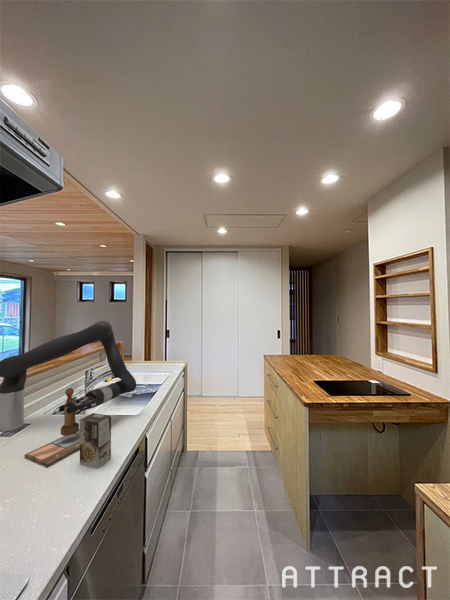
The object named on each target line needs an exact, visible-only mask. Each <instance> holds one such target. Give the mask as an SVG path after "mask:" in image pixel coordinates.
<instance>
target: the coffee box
mask: <svg viewBox="0 0 450 600" xmlns="http://www.w3.org/2000/svg"><path fill="white" fill-rule="evenodd" d="M79 429H80V450H79V464H81V465H84V466H89V467H92V468H97V469H100V468H101V467H102V466H103V465H105V464H106V463H108V462H109V461H110V460H112V415H110V414H109V415H108V414H102V413H101V414H100V413H94V412H92V413H90V414H88V415H86V416H84V417H83V418H80V419H79Z"/></svg>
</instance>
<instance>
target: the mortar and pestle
mask: <svg viewBox="0 0 450 600" xmlns="http://www.w3.org/2000/svg"><path fill="white" fill-rule="evenodd" d="M74 392H75V390H74V389H73V388H72V387H68V388H67V389H65V395H66V397H67V399H66V401H67V404H66V403H65V404H66V405H65V404H64V405H65V406H64V411H63V412H64V414H63V415H64V418H63V420H64V423H63V425H62V426H61V428H60V435H61V436H62V437H64V436H68V435H72V434H75V433H77V432H78V431H79V429H80V423H78V422H76V411H74V412H71V413H69V414H67V413H66V409H67V408H68V407H71V406H74V405H75V404H74V403H72V401H73V399H72V398H73V397H72V396H73V394H74Z"/></svg>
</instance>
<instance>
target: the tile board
mask: <svg viewBox="0 0 450 600" xmlns="http://www.w3.org/2000/svg"><path fill="white" fill-rule="evenodd" d="M77 452H80V428H79V431H78V432H77V433H75V434H72V435H68V436H62V437H60V438H57V439H55V440H53V441H50V442H49V443H46V444H45V445H42V446H40V447H38V448H36V449H33V450H32V451H30V452H27V453H26V454H24V459H26V460H28V461H32V462H34V463H36V464H38V465H40V466H43V467H45V468H50V467H52V466H53V465H55V464H57V463H59V462H60V461H63V460H64V459H66V458H68V457H70V456H71V455H74V454H75V453H77Z"/></svg>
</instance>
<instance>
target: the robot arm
mask: <svg viewBox="0 0 450 600" xmlns="http://www.w3.org/2000/svg"><path fill="white" fill-rule="evenodd" d="M113 331H114V330H113V327H112V324H110V322H108V321H105V320H101V321H97V322H95V323H93V324H92V325H89V326H88V327H86V328H84V329H81V330H80V331H77V332H73V333H70V334H64V335H62V336H59V337H57V338H54V339H51V340H49V341H47V342H44V343H42V344H40V345H39V346H36V347H34V348H32V349H31V350H29V351H26V352H24V353H20V354H18V355H17V354H14V355H10V356H8V357H5V358H3V359H2V360H0V378H3V379H2V383H1V384H0V432H3V433H4V432H5V433H6V432H10V431H14V430H17V429H20V428H22V427H23V426H24V424H25V385H26V381H27V371H28V370H29V369H30V368H33V367H34V366H35V367H36V366H38V365H42V364H45V363H48V362H51V361H54V360H56V359H59V358H61V357H64V356H67V355H68V354H71V353H73V352H75V351H77V350H78V349H80V348H83V347H84V346H87V345H91V344H93V343H96V342H100V343H101V345H102V347H103V350H104V352H105V356H106V359H107V360H106V361H107V364H108V366H109V369H110V371H111V374H112V376H113V377H114V378H118V379H120V380H117V381H116V382H113V383H110V384H107V385H104V386H100V387H97V388H95V389H92V390H89V391H87V392H86V394H84V395H85V396H80V397H79V398H77V396H73V397H72V399H73V401H72V403H74V404H75V405H74V406H71V407H68V408H67V409H66V413H67V414H69V413H71V412H74V411H75V412H79V411H80V412H83V411H87V410H90V409H95V408H96V407H99V406H101V405H103V404H106V403H107V402H109V401H112V400H114V399H115V398H117V397H119V396H120V395H124V394H127V393H133V392H134V391H135V390H136V388H137V381H136V378H135V377H134V376H133V375H132V374H131V372H130V371H129V370H128V368H127V366H126V364H125V361H124V359H123V357H122V355H121V353H120V351H119V349H118V345H117V342H116V339H115V337H114V332H113ZM27 369H28V370H27ZM66 404H67V400H66V401H65V403H64V404H62V405H60V406H58V412H60V413H61V412H64V406H65V405H66Z"/></svg>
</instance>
